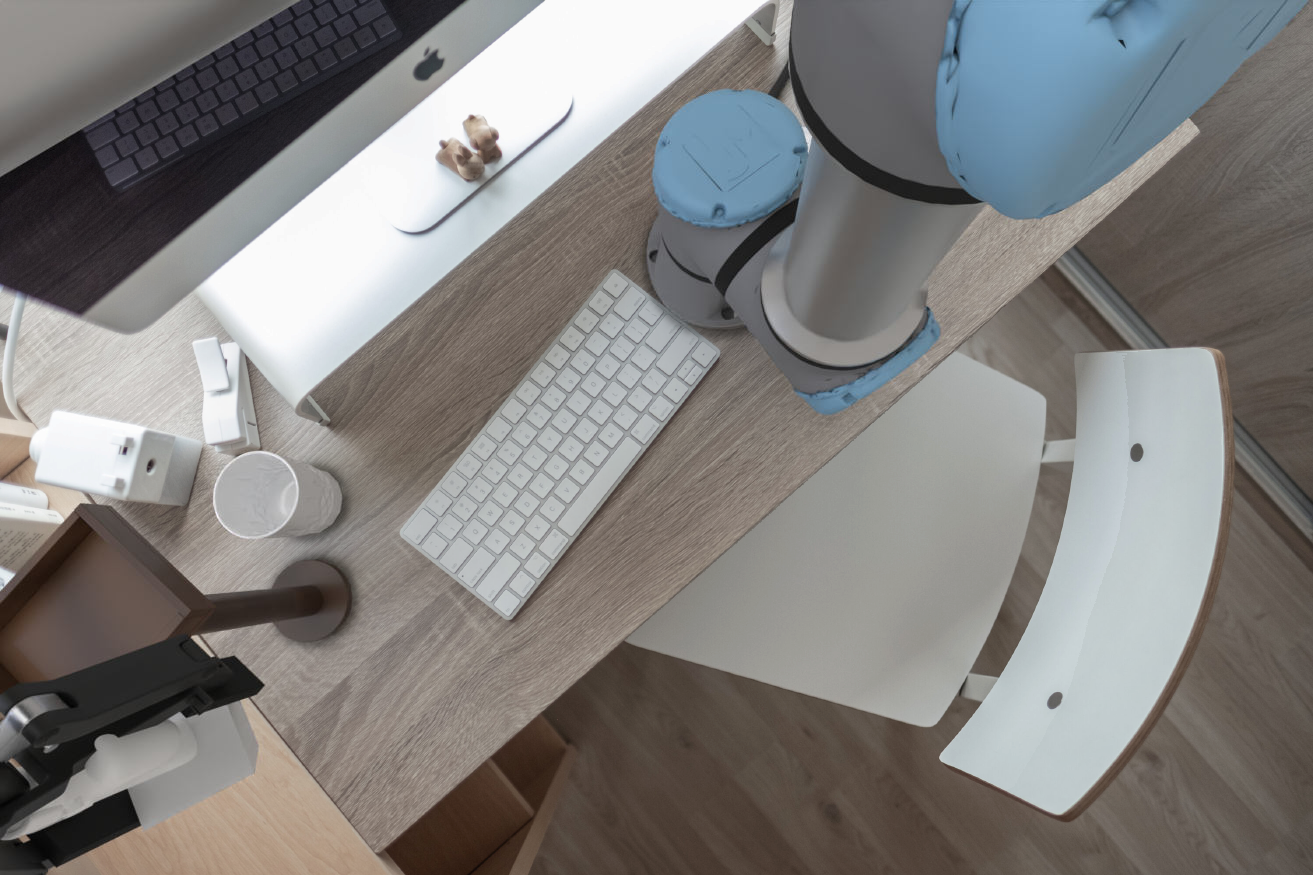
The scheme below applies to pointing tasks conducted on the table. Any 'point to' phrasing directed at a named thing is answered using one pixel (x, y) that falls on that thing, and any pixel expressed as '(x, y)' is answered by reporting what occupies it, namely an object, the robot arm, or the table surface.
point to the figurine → (157, 768)
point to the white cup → (274, 497)
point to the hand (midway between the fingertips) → (190, 738)
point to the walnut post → (288, 603)
